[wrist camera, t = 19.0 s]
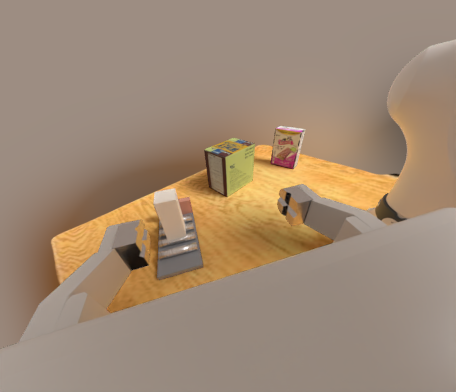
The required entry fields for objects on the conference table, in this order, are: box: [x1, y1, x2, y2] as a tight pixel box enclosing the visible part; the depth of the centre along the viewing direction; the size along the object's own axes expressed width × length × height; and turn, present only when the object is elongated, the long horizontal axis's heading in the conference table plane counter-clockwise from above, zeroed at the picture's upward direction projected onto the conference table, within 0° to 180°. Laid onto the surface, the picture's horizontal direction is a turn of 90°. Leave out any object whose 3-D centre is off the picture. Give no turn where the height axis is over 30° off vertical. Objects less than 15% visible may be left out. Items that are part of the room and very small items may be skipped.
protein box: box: [204, 138, 255, 197], centre depth 63 cm, size 10×15×16 cm
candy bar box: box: [271, 126, 305, 169], centre depth 74 cm, size 11×5×16 cm, turn 55°
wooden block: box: [154, 189, 186, 241], centre depth 40 cm, size 4×4×12 cm
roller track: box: [154, 197, 203, 280], centre depth 44 cm, size 10×20×6 cm, turn 17°
